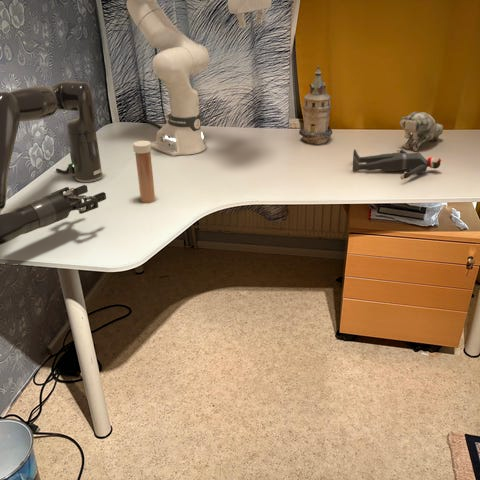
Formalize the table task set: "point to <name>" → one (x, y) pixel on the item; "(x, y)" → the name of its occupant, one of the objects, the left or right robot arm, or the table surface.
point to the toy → (396, 162)
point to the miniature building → (316, 112)
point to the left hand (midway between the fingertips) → (95, 191)
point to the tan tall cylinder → (145, 177)
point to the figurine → (420, 129)
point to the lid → (142, 147)
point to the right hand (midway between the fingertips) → (250, 25)
